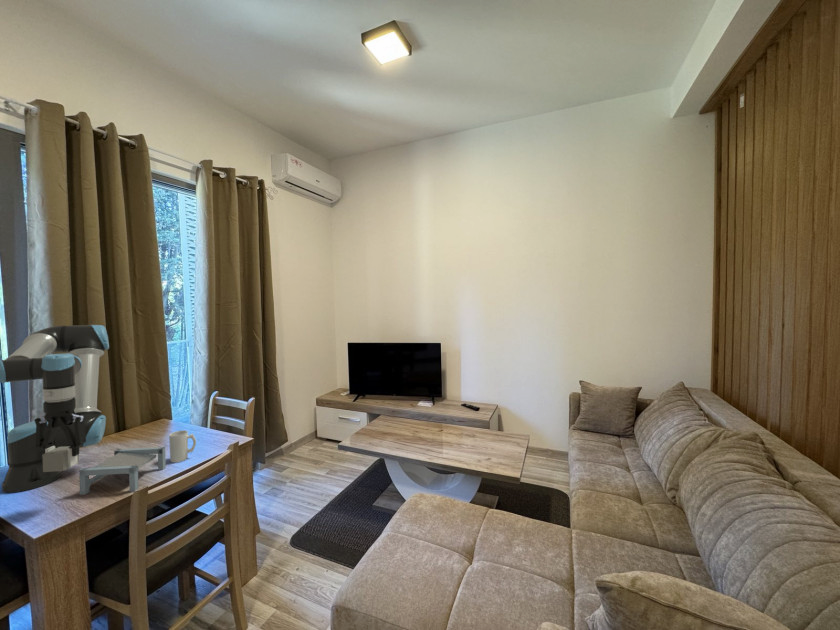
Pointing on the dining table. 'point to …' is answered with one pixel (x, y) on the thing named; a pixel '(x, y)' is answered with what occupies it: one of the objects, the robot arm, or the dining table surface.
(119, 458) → the trapdoor
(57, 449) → the stone
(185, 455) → the mug
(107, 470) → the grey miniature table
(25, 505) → the dining table surface
